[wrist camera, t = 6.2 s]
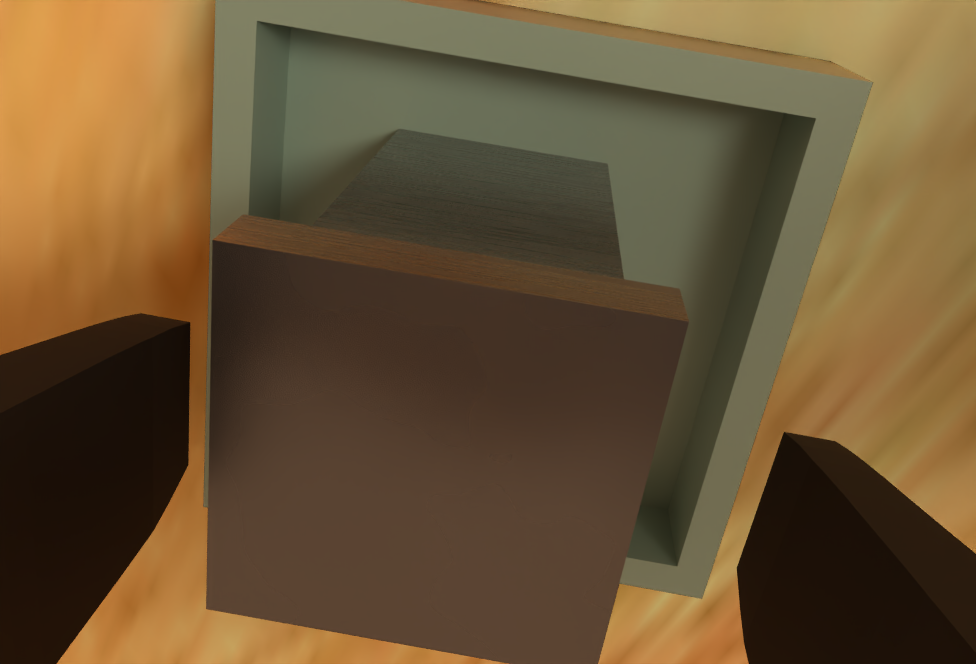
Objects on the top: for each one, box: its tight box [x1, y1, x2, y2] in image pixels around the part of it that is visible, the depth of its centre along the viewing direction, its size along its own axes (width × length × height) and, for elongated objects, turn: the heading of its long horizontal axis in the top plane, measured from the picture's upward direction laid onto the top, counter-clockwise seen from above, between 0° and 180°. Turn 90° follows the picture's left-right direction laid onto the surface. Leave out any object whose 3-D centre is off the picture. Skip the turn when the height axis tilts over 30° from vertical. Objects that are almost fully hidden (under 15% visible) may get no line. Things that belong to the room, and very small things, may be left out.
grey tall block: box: [206, 129, 689, 664], centre depth 12 cm, size 4×4×7 cm
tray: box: [203, 0, 873, 599], centre depth 15 cm, size 9×9×2 cm
